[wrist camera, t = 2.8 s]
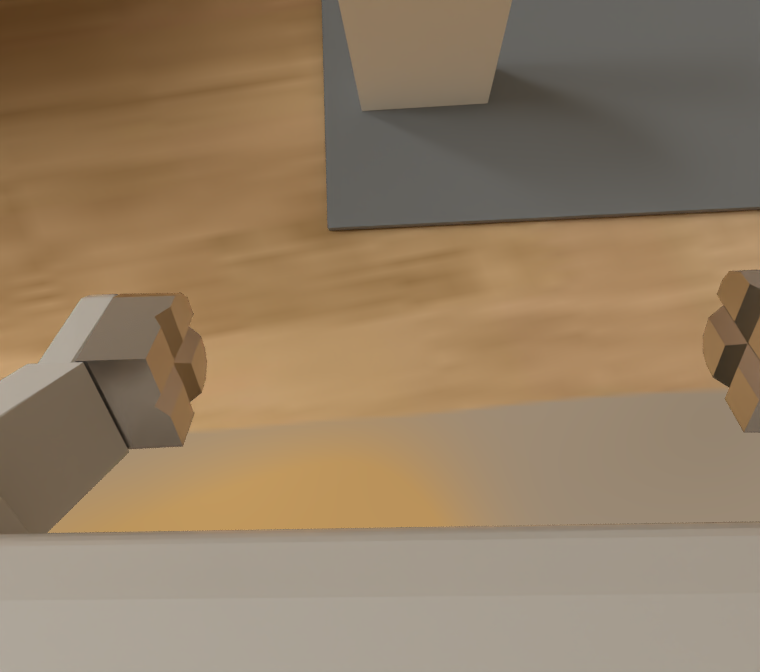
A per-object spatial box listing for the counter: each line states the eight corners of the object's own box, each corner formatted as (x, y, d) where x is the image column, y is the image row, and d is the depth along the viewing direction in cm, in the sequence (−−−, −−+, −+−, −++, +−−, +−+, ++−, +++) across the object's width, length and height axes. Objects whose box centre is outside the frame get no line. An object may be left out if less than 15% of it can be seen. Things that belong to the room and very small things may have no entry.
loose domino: (361, 111, 25) (321, -76, 15) (360, 72, 25) (320, -138, 15) (487, 103, 24) (534, -93, 14) (485, 64, 24) (530, -157, 14)
